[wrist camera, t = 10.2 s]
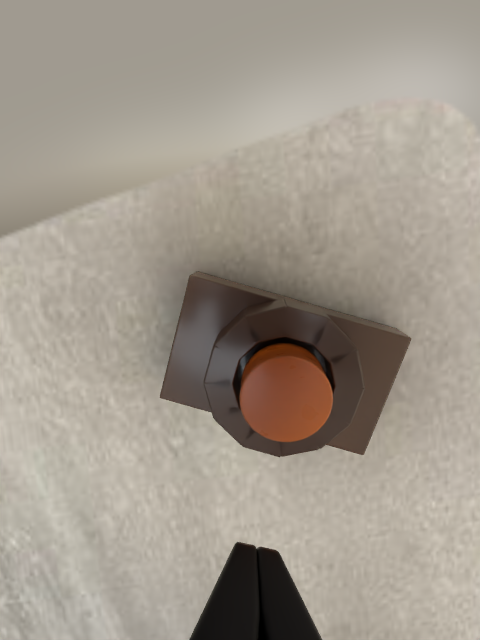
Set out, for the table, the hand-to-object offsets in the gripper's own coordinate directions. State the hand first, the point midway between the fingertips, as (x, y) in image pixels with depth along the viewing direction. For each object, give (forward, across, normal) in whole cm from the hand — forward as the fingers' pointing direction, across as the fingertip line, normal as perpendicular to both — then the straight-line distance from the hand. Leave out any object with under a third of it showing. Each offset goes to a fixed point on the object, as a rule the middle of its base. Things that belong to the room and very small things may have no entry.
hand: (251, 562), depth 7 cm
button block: (+11, -1, 0) cm, 11 cm away
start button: (+8, -1, 0) cm, 8 cm away
